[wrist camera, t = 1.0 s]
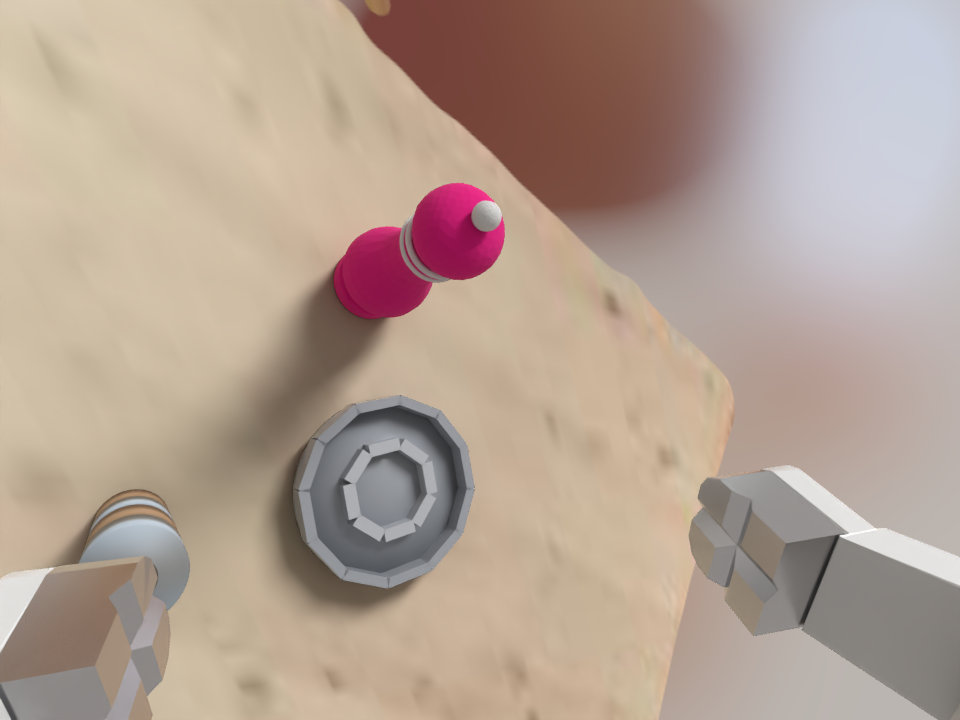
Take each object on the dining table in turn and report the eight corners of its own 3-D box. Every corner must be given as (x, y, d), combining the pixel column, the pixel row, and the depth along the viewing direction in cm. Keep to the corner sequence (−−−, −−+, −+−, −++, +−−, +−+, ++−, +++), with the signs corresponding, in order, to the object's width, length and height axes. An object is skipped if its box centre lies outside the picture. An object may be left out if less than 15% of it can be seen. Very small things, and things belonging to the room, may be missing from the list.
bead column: (87, 499, 36) (60, 551, 22) (163, 482, 39) (183, 517, 24) (99, 565, 37) (79, 659, 22) (174, 543, 39) (201, 615, 24)
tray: (277, 418, 43) (285, 418, 41) (442, 385, 52) (456, 383, 49) (311, 606, 43) (320, 616, 41) (470, 543, 52) (485, 549, 49)
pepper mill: (396, 335, 50) (533, 290, 33) (318, 309, 46) (427, 245, 29) (413, 261, 51) (552, 182, 34) (338, 230, 48) (453, 126, 31)
